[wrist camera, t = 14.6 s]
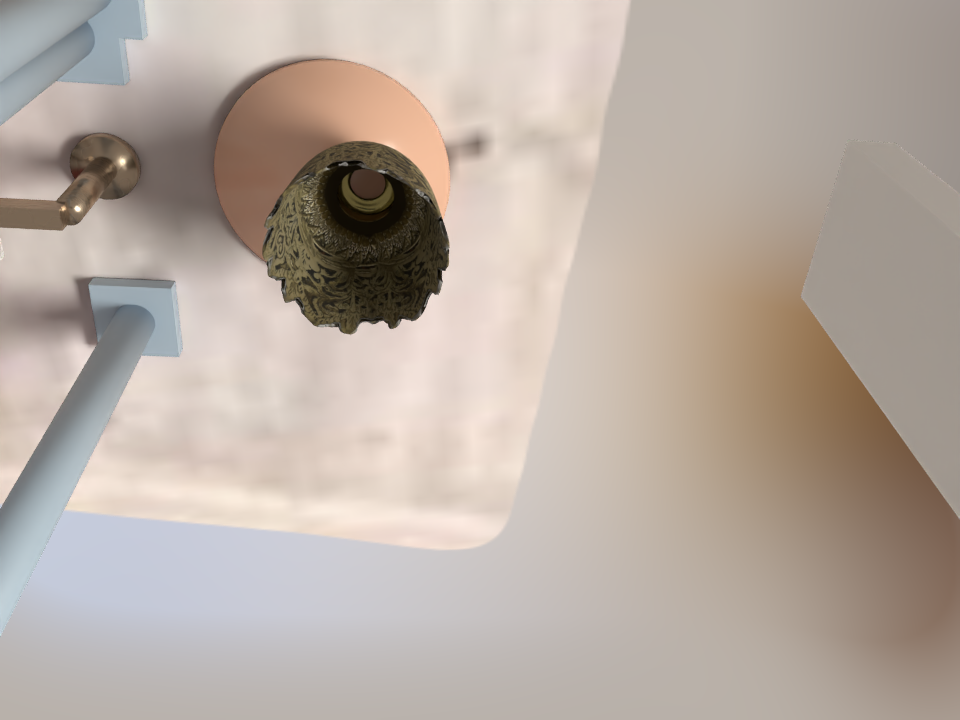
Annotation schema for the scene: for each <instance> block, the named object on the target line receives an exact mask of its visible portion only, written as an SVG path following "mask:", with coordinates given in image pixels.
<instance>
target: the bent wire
mask: <svg viewBox="0 0 960 720" xmlns="http://www.w3.org/2000/svg"><path fill="white" fill-rule="evenodd" d="M70 168H71V172H72V175H73V177H74V179H75V180H74V182H73V183H72V184H71V185H70V186H69V187H68V188H67V189H66V191H65V192H64V193H63V194H62V195H61V196H60V197H59V198H58V200H57V201H48V200H29V199H10V198H0V227H3V228H23V229H43V230H63V229H64V228H65V227H66V226H67V225H76V224H78V223H79V222H80V221H81V220H82V219H83V217H84V216H85V215H86V214H87V212H88V211H89V210H90V209H91V207H92V206H93V205H94V203H95V202H96V201H97V200H98V198H102V199H118V198H121V197H124V196H125V195H127V194H128V193H129V192H131V190H132V189H133V188H134V186H135V185H136V184H137V182H138V180H139V178H140V172H141V166H140V162H139V159H138V156H137V154H136V153H135V151H134V150H133V149H132V147H131V146H130V145H129V144H128V143H126V142H125V141H124V140H122V139H121V138H119V137H117V136H114V135H111V134H107V133H96V134H91V135H89V136H87V137H85V138H84V139H82V140H81V141H80V142H79V143H78V144H77V145H76V147H75V148H74V149H73V151H72V153H71V157H70Z"/></svg>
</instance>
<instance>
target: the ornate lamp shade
mask: <svg viewBox="0 0 960 720" xmlns="http://www.w3.org/2000/svg"><path fill="white" fill-rule="evenodd" d="M361 169H368V170H373V171H376V172H378V173H380V174H381V175H383V176H384V179H385V188H384V191H383V192H382V193H381V195H379V196H378V197H376V198H373V199H364V198H361V197H359V196H358V195H356V194H355V193H354V191H353V190H352V188H351V184H350V180H351V176H352V174H353V173H354V172H355V171H356V170H361ZM264 227H265V228H267V230H268V231H267V233H266V236H265V239H264V242H263V248H262V255H263V258H264V260H267V263H266V264H267V266H268V276H269V277H271V278H274V279H275V280H276V281H280V280H281V281H282V288H281V291H282V294H283V298H284V301H285V303H288V302H291V301H296V303H297V304H298V305H299V306H300V308H301V312H302V314H303V315H304V316H305V317H306V318H307V319H308V320H309V321H310V322H311V323H312V324H313V325H314V326H317V327H339V329H340V331H341V332H343V333H346V334H353V333H355V332H356V331H357V328H358V326H359V325H360V323H362V322H369V323H371V324H376V323H378V322H379V321H384V322H385V323H388V326H389V328H390V329H394V328H396V327H397V326H398V325H399V324H400V322H401V319H406V320H411V321H415V320H417V319H418V318H419V317H420V316H421V315H422V313H423V312H424V310H425V308H426V305H427V302H428V299H429V297H430V295H431V294H432V293H434V294H435V295H436V294H437V295H439V293H440V290H441V286H442V282H443V281H442V271H445V270H446V268H447V267H448V265H449V240H448V235H447V232H446V229H445V225H444V223H443V219H442V216H441V213H440V209H439V206H438V203H437V201H436V198H435V195H434V193H433V190H432V188H431V186H430V184H429V182H428V181H427V179H426V178H425V176H424V175H423V173H422V172H421V171H420V169H419V168H418V167H417V166H416V165H415V164H414V163H413V162H412V161H411V160H410V159H409V158H407V157H406V156H405V155H403V154H402V153H400V152H399V151H397V150H395V149H393V148H391V147H389V146H386V145H383V144H380V143H375V142H369V141H351V142H345V143H341V144H338V145H335V146H332V147H330V148H328V149H326V150H324V151H322V152H320V153H319V154H317V155H316V156H315V157H313V158H312V159H311V160H310V161H308V162H307V163H306V164H305V165H304V166H303V167H302V168H301V170H300V171H299V172H298V173H297V174H296V176H295V177H294V178H293V180H292V181H291V182H290V184H289V185H288V186H287V188H286V189H285V190H284V192H283V193H282V194H281V196H280V197H279V198H278V200H277V201H276V203H275V206H274V208H273V210H272V211H271V213H270V214H269V215H268V217H267V219H266V221H265V224H264Z"/></svg>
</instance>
